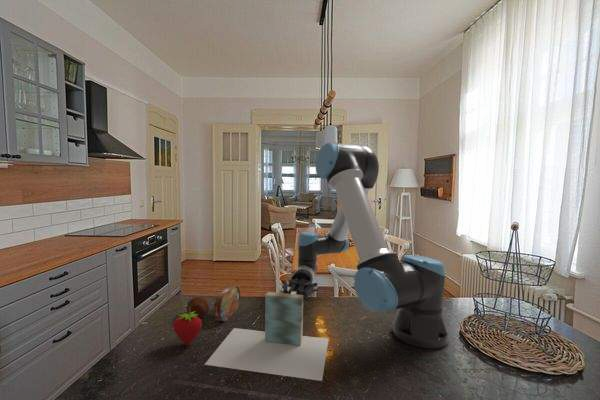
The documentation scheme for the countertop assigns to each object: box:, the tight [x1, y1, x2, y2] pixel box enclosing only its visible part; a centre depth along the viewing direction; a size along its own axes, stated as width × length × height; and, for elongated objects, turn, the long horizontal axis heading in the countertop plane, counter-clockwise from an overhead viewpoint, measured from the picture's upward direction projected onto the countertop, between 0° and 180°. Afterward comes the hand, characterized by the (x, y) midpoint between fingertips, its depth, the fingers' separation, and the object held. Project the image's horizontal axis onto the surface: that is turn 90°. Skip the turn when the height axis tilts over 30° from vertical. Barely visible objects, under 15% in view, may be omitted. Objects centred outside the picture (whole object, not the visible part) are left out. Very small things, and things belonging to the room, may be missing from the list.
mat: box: [204, 327, 330, 382], centre depth 77 cm, size 28×18×1 cm, turn 80°
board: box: [264, 291, 304, 346], centre depth 81 cm, size 10×2×13 cm, turn 80°
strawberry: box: [172, 311, 203, 346], centre depth 80 cm, size 6×8×10 cm
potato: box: [186, 295, 210, 320], centre depth 97 cm, size 7×9×6 cm
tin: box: [213, 285, 241, 322], centre depth 98 cm, size 15×3×8 cm, turn 168°
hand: (289, 304), depth 89 cm, fingers closed
